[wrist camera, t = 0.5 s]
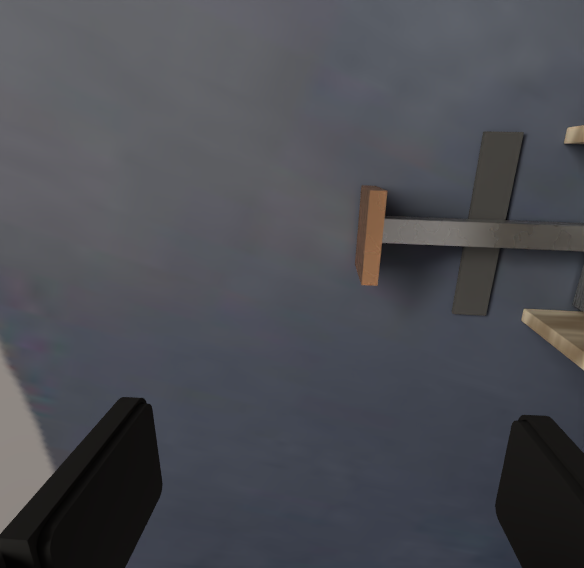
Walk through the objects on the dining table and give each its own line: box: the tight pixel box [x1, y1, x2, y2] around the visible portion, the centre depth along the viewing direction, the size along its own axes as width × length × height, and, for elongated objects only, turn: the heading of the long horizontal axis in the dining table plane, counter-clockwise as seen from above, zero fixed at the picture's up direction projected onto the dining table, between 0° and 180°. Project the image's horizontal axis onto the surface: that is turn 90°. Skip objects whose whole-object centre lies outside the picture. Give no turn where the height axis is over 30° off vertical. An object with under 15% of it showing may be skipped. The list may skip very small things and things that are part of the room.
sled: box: [355, 185, 584, 312], centre depth 29 cm, size 13×33×6 cm, turn 88°
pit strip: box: [452, 132, 524, 316], centre depth 33 cm, size 16×3×1 cm, turn 178°
